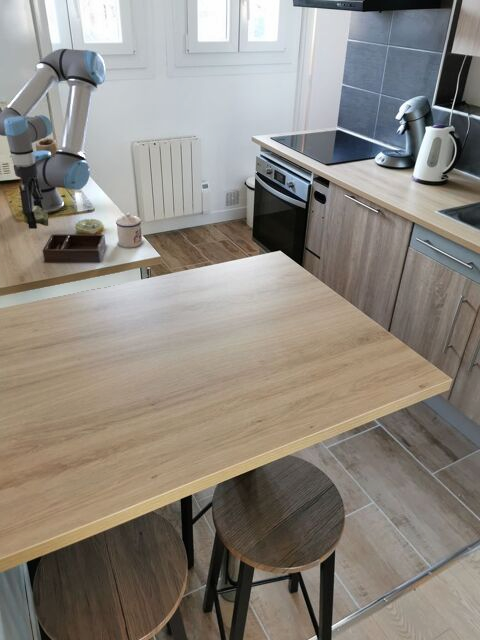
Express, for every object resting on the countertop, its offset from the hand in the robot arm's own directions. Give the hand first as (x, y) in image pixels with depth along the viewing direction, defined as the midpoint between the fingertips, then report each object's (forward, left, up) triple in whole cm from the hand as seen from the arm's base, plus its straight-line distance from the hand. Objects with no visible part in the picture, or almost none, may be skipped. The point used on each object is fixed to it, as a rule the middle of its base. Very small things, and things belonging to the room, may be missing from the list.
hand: (36, 222), depth 195 cm
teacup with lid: (+6, +36, -5) cm, 37 cm away
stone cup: (-78, -12, -5) cm, 79 cm away
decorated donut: (-3, +19, -5) cm, 20 cm away
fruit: (0, 0, 0) cm, 1 cm away
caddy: (+17, +17, -5) cm, 25 cm away
